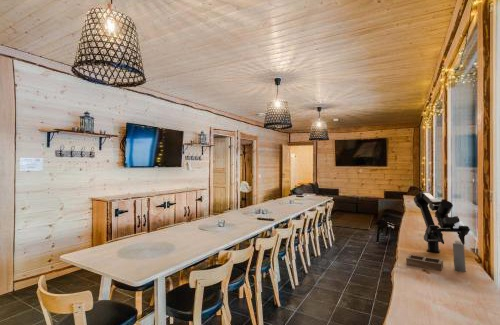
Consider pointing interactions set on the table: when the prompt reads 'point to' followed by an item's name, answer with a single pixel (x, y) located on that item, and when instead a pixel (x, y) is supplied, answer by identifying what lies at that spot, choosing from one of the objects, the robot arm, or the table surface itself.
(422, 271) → the table surface
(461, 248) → the slate plug
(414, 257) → the box
